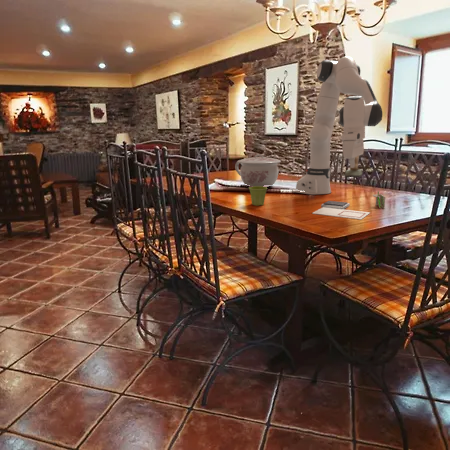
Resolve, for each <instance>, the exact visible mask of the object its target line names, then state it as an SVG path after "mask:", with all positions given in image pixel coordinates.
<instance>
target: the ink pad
mask: <svg viewBox="0 0 450 450" xmlns="http://www.w3.org/2000/svg"><path fill="white" fill-rule="evenodd" d="M349 206H350V203H349V202H345V201H336V200H335V201H334V200H328V201H325V202H324V203H322V204H321V205H320V208H323V207H326V208H335V209H344V210H346V209H348V208H349Z"/></svg>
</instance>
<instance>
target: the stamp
mask: <svg viewBox="0 0 450 450" xmlns="http://www.w3.org/2000/svg"><path fill="white" fill-rule="evenodd" d="M358 166H359V160H358V156H357V157H355V167H354V168H350V167H349V169H346V170H345V178H360V177H361V178H362V176H363V169H361V168H360V169H359V167H358Z"/></svg>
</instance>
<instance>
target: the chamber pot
mask: <svg viewBox="0 0 450 450" xmlns="http://www.w3.org/2000/svg"><path fill="white" fill-rule="evenodd" d="M281 162H282V161H281V160H280V159H277V158H273V157H265V156H264V155H262V154H256V155H254V157H249V158H248V157H247V158H243V159H239V160H237V161H236V162H235V166H234V168H235V171H236V173H237V174H238V175H239V176H240V179H241V181H242V183H243V184H244V185H245V184H247V185H250V186H264V185H273V184H274V185H275V183H276V182H277V180H278V176H279V166H278V164H279V163H281ZM239 164H240V165H241V166H240V169H239ZM274 185H273V186H274Z"/></svg>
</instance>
